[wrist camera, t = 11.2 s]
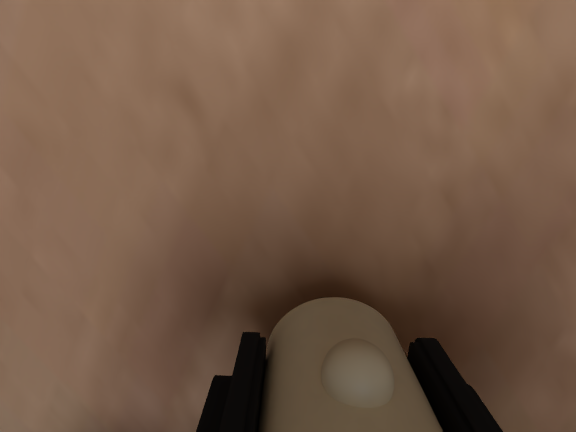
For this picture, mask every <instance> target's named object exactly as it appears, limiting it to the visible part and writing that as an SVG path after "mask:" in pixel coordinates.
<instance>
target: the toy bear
mask: <svg viewBox="0 0 576 432" xmlns="http://www.w3.org/2000/svg"><path fill="white" fill-rule="evenodd" d="M258 432H443V430H442V428H441V426H440V424H439V422H438V420H437V418H436V416H435V414H434V412H433V410H432V408H431V406H430V404H429V402H428V400H427V398H426V396H425V394H424V391H423V389H422V387H421V385H420V383H419V381H418V379H417V377H416V375H415V373H414V371H413V369H412V367H411V365H410V363H409V361H408V359H407V357H406V355H405V353H404V351H403V349H402V347H401V345H400V343H399V341H398V339H397V337H396V335H395V333H394V331H393V329H392V327H391V326H390V324H389V322H388V321H387V320H386V319H385V318H384V317H383V316H382V315H381V314H380V313H379V312H378V311H376V310H375V309H373V308H372V307H370V306H368V305H366V304H364V303H362V302H359V301H356V300H353V299H348V298H340V297H327V298H319V299H315V300H311V301H308V302H306V303H303V304H301V305H299V306H297V307H295V308H294V309H292V310H291V311H290V312H288V313H287V314H286V315H285V316H284V317H283V318H282V319H281V320H280V321H279V322H278V323H277V324H276V326H275V327H274V329H273V331H272V333H271V335H270V337H269V341H268V345H267V352H266V363H265V372H264V380H263V389H262V398H261V406H260V415H259V424H258Z"/></svg>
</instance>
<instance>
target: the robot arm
mask: <svg viewBox="0 0 576 432" xmlns="http://www.w3.org/2000/svg"><path fill="white" fill-rule="evenodd" d="M407 359H408V361H409V363H410V365H411V367H412V369H413V371H414V373H415V375H416V377H417V379H418V381H419V383H420V385H421V387H422V389H423V391H424V394H425V396H426V398H427V400H428V402H429V404H430V406H431V408H432V410H433V412H434V414H435V416H436V418H437V420H438V422H439V424H440V426H441V428H442V430H443V432H503V431H502V429H501V428H500V427H499V425H498V424H497V422H496V421H495V419H494V418H493V416H492V415H491V413H490V412H489V411H488V409H487V408H486V406H485V405H484V403H483V402H482V400H481V399H480V397H479V396H478V395H477V393H476V392H475V390H474V389H473V388H472V387H471V386H470V385H468V384H466V382H465V381H464V379H463V378H462V376H461V375H460V373H459V372H458V370H457V369H456V367H455V366H454V364H453V363H452V361H451V360H450V358H449V357H448V355H447V354H446V352H445V351H444V349H443V348H442V347H441V345H440V344H439V342H438V341H437V340H436V339H435V338H416V340H415V342H411V343H410V346H409V352H408V358H407ZM265 363H266V337H260V333H258V332H243V334H242V337H241V342H240V346H239V350H238V354H237V358H236V362H235V366H234V370H233V375H232V376H221V375H215V376H214V378H213V380H212V383H211V386H210V389H209V392H208V396H207V399H206V402H205V405H204V408H203V411H202V415H201V418H200V421H199V424H198V427H197V430H196V432H258V424H259V415H260V406H261V398H262V389H263V380H264V372H265Z"/></svg>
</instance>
